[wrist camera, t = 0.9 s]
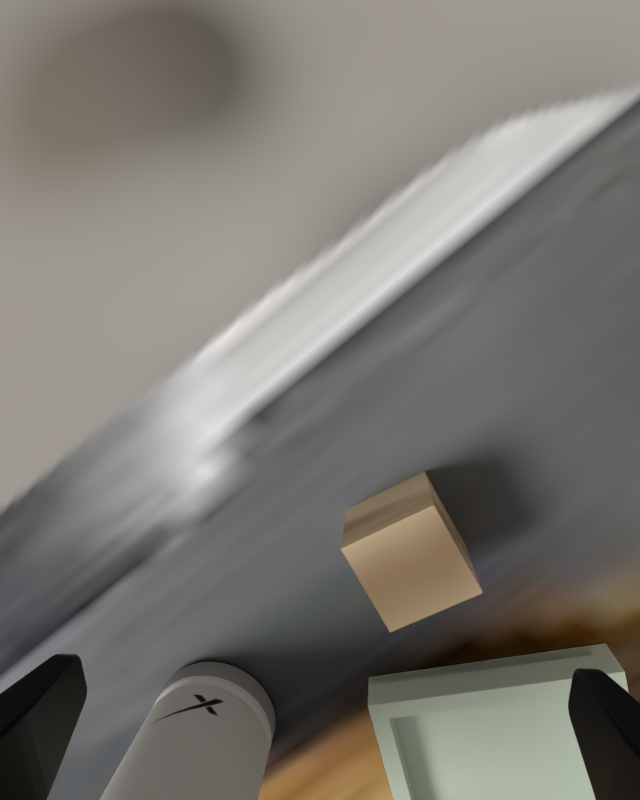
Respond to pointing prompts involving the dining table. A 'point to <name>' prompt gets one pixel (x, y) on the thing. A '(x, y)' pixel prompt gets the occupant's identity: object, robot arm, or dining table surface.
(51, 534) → the dining table surface
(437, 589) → the oak cube
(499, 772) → the dish
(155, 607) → the dining table surface
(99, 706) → the dining table surface
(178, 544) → the dining table surface
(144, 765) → the travel mug
